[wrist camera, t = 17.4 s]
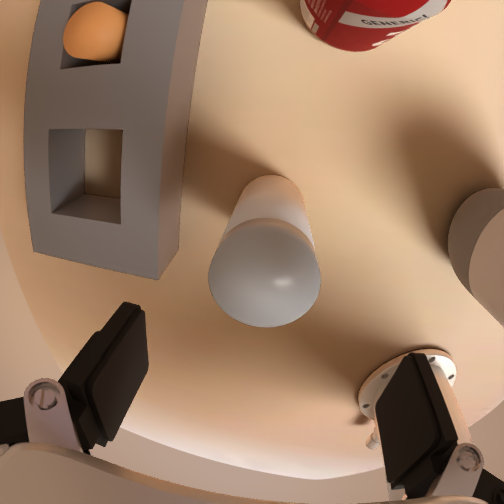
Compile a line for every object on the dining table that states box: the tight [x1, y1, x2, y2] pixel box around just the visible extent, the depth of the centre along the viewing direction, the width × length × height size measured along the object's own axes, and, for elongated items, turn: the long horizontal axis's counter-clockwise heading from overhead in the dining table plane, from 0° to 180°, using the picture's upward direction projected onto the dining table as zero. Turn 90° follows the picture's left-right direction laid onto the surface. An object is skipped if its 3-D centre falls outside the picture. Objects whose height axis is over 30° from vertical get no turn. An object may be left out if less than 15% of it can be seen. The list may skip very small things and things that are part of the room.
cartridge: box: [208, 175, 321, 327], centre depth 19 cm, size 5×5×11 cm
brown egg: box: [63, 2, 129, 64], centre depth 16 cm, size 4×4×5 cm
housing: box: [24, 0, 208, 280], centre depth 19 cm, size 22×12×5 cm, turn 172°
